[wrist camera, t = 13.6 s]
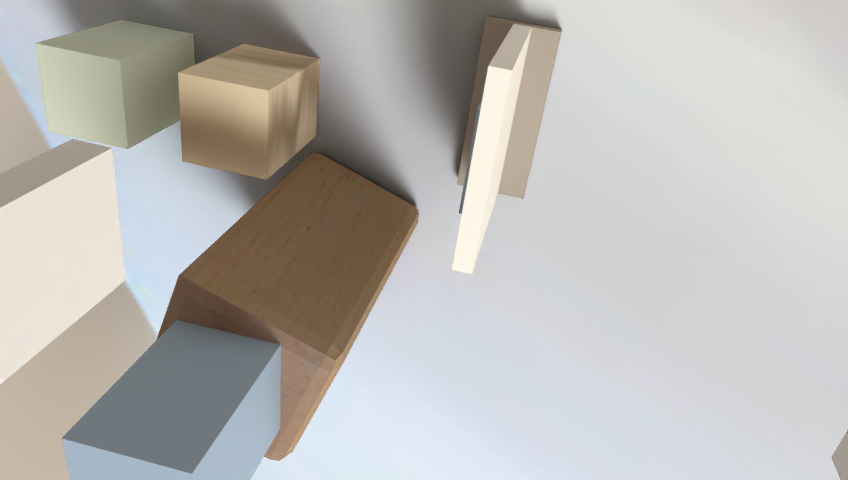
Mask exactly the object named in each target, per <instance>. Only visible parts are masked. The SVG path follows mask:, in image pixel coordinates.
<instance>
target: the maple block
mask: <svg viewBox="0 0 848 480" xmlns="http://www.w3.org/2000/svg"><path fill="white" fill-rule="evenodd" d="M319 76H320V58H315V57H310V56H305V55H299V54H294V53H289V52H284V51H279V50H274V49H269V48H264V47H258V46H253V45H248V44H242V45H239V46H237V47H235V48H233V49H230V50H228V51H226V52H223V53H221V54H219V55H217V56H214V57H212V58H210V59H207V60H205V61H203V62H201V63H198V64H196V65H194V66H192V67H189V68H187V69H185V70H182V71H180V72H178V81H179V101H180V121H181V141H182V161H184V162H188V163H193V164H197V165H202V166H206V167H211V168H215V169H220V170H224V171H229V172H233V173H238V174H242V175H247V176H251V177H256V178H260V179H265V180H267V179H268V178H269V177H271V176H272V175H273V174H274V173H275V172H276V171H277V170H278V169H280V168H281V167H282V166H283V165H284V164H285V163H286V162H288V161H289V160H290V159H291V158H292V157H293V156H294V155H295V154H297V153H298V152H299V151H300V150H301V149H302V148H303V147H304V146H306V145H307V144H308V143H309V142H310V141H311V140H312V139H313V138H315V137H316V131H317V112H318V94H319Z"/></svg>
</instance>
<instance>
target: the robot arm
mask: <svg viewBox="0 0 848 480" xmlns="http://www.w3.org/2000/svg"><path fill="white" fill-rule="evenodd" d="M125 280H126V277H125V267H124V258H123V248H122V239H121V229H120V220H119V210H118V201H117V191H116V182H115V172H114V163H113V153H112V148H110V147H105V146H101V145H96V144H92V143H87V142H83V141H78V140H74V139H72V140H70V141H68V142H66V143H64V144H62V145H59V146H57V147H55V148H53V149H51V150H49V151H47V152H45V153H43V154H41V155H39V156H37V157H34V158H32V159H30V160H28V161H26V162H24V163H22V164H20V165H18V166H16V167H14V168H11V169H10V170H7V171H5V172H3V173H1V174H0V384H1V383H2V382H4V381H5V380H6V379H7V378H8V377H10V376H11V375H12V374H13V373H14V372H16V371H17V370H18V369H19V368H20V367H21V366H23V365H24V364H25V363H26V362H28V361H29V360H30V359H31V358H32V357H34V356H35V355H36V354H37V353H38V352H39V351H41V350H42V349H43V348H44V347H46V346H47V345H48V344H49V343H50V342H51V341H53V340H54V339H55V338H56V337H58V336H59V335H60V334H61V333H62V332H64V331H65V330H66V329H67V328H68V327H70V326H71V325H72V324H73V323H74V322H76V321H77V320H78V319H79V318H80V317H81V316H83V315H84V314H85V313H86V312H88V311H89V310H90V309H91V308H92V307H94V306H95V305H96V304H97V303H98V302H100V301H101V300H102V299H103V298H104V297H105V296H107V295H108V294H109V293H110V292H112V291H113V290H114V289H115V288H116V287H118V286H119V285H120V284H121V283H122V282H124V281H125ZM832 460H833V462H834V465H835V467H836V469H837V472H838V474H839V477H840V479H841V480H848V431H847V432H846V434H845V436H844V437H843V439H842V441H841V442H840V444H839V446H838V447H837V449H836V451H835V452H834V454H833V456H832Z"/></svg>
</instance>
